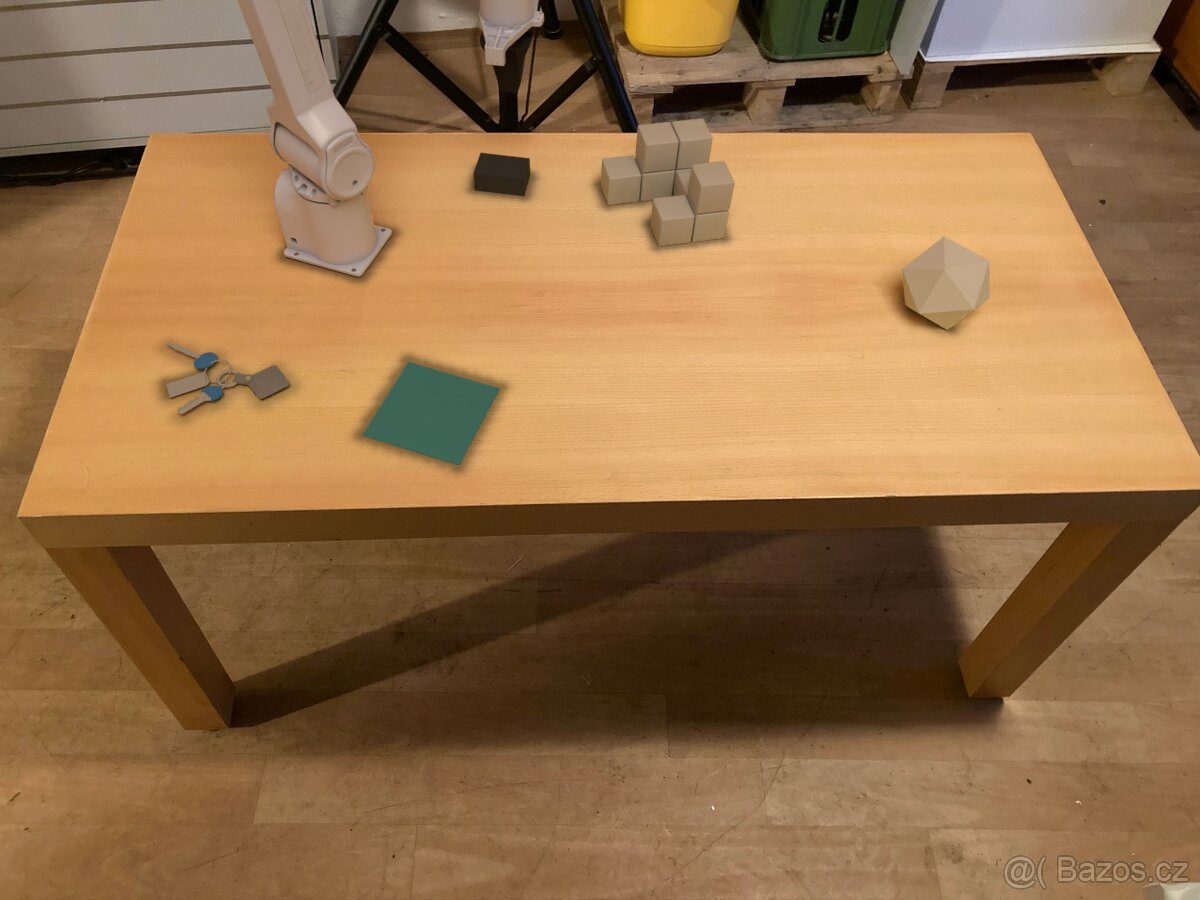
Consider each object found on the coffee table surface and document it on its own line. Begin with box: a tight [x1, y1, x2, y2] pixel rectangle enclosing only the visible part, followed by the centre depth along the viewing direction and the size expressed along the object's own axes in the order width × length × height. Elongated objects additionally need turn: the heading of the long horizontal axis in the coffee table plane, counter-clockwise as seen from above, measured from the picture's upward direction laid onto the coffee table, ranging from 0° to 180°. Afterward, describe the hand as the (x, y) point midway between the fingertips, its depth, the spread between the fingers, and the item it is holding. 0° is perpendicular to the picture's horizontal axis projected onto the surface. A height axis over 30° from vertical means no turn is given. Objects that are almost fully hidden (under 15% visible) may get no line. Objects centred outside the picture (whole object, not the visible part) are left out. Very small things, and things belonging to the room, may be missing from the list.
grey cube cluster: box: [600, 118, 736, 247], centre depth 105 cm, size 12×12×8 cm
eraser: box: [473, 152, 531, 197], centre depth 109 cm, size 6×4×2 cm, turn 83°
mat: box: [362, 361, 501, 466], centre depth 89 cm, size 10×10×1 cm
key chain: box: [165, 341, 291, 415], centre depth 89 cm, size 14×8×1 cm, turn 76°
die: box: [901, 235, 991, 331], centre depth 97 cm, size 8×9×10 cm
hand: (510, 89), depth 107 cm, fingers closed
